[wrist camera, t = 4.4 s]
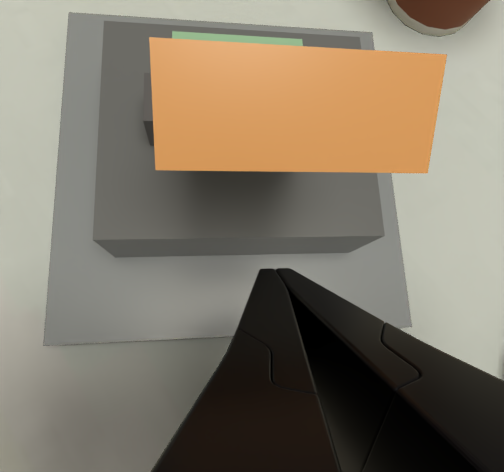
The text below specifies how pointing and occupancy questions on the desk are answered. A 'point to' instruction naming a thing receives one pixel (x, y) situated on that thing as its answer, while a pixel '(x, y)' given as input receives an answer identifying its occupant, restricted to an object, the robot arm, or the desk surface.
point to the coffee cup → (436, 14)
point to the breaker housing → (194, 205)
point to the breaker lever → (292, 107)
